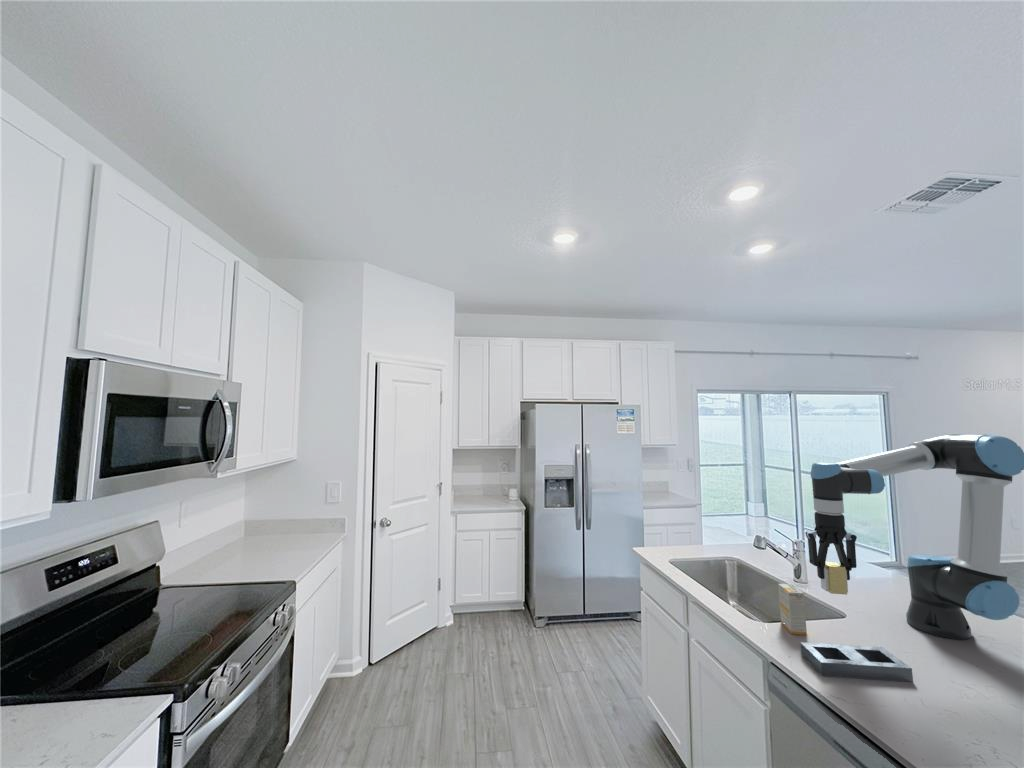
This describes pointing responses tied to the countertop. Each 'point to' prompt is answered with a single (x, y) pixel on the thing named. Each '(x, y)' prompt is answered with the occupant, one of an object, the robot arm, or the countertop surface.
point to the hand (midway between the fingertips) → (834, 589)
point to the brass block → (836, 578)
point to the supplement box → (792, 609)
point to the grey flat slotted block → (856, 662)
